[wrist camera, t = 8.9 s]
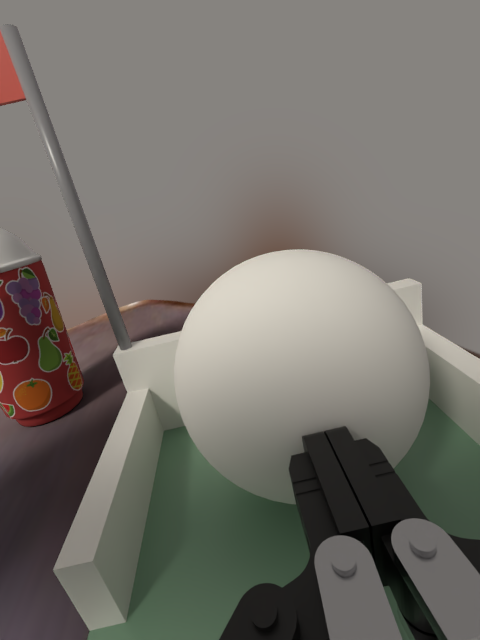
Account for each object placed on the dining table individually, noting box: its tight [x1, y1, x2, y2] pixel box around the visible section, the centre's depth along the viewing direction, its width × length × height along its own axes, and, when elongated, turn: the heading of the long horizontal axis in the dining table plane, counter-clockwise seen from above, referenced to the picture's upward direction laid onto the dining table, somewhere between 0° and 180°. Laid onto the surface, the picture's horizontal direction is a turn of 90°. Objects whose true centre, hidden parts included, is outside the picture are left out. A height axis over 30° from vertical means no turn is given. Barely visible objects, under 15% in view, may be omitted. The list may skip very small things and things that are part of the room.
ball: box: [174, 249, 430, 504], centre depth 17 cm, size 12×12×12 cm
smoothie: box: [0, 228, 84, 427], centre depth 29 cm, size 8×8×20 cm
